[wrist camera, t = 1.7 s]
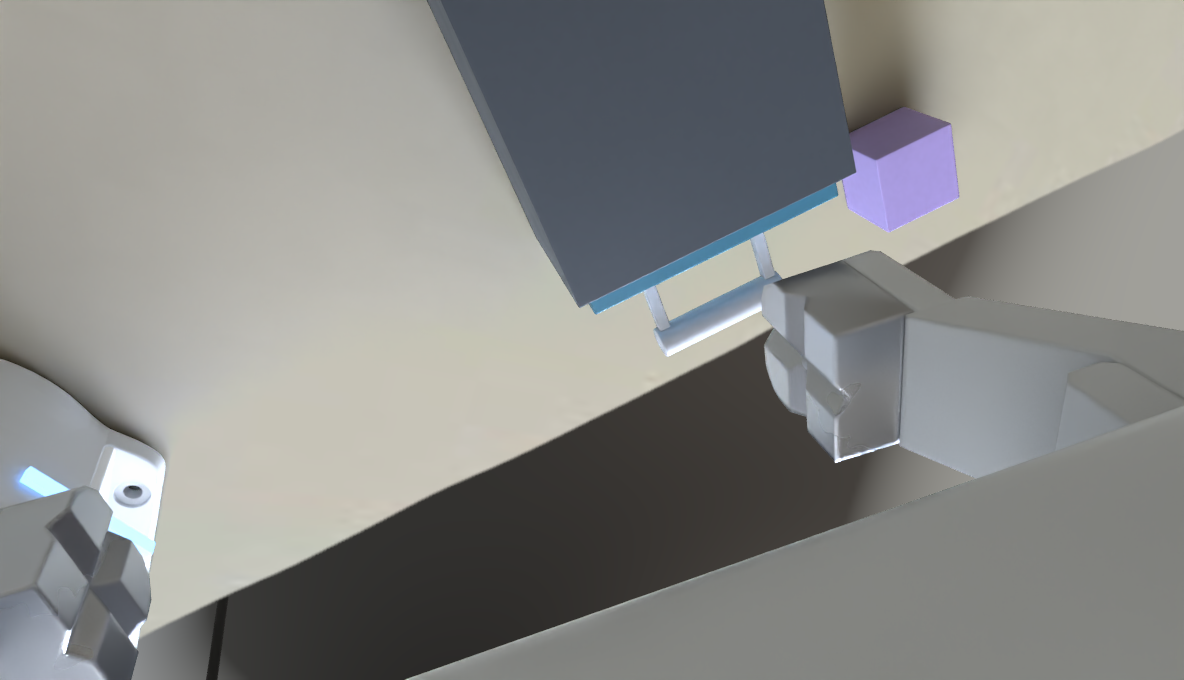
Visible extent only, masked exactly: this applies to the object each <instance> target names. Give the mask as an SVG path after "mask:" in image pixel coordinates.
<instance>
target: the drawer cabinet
mask: <svg viewBox="0 0 1184 680" xmlns="http://www.w3.org/2000/svg"><path fill="white" fill-rule="evenodd" d="M427 2H428V4H429V6H430V8H431V10H432V12H433V15H434V17H435V19H436V21H437V23H438V25H439V28H440V30H441V32H442V34H443V36H444V39H445V41H446V43H447V45H448V47H449V49H450V52H451V54H452V56H453V58H454V60H455V62H456V65H457V67H458V69H459V71H460V73H461V75H462V78H463V80H464V82H465V84H466V86H467V89H468V91H469V93H470V95H471V97H472V99H473V102H474V104H475V106H476V108H477V110H478V112H479V115H480V117H481V119H482V121H483V123H484V125H485V128H486V130H487V132H488V134H489V136H490V139H491V141H492V143H493V145H494V147H495V149H496V152H497V154H498V156H499V158H500V160H501V162H502V165H503V167H504V169H505V171H506V173H507V175H508V178H509V180H510V182H511V184H512V186H513V189H514V191H515V193H516V195H517V197H518V199H519V202H520V204H521V206H522V208H523V210H524V212H525V215H526V217H527V219H528V221H529V223H530V225H531V228H532V230H533V232H534V234H535V236H536V238H537V240H538V241H539V243H540V245H541V246H542V248H543V250H544V251H545V253H546V254H547V256H548V258H549V259H550V261H551V263H552V264H553V266H554V268H555V269H556V271H557V272H558V274H559V276H560V277H561V279H562V281H563V282H564V284H565V286H566V287H567V289H568V290H569V292H570V294H571V295H572V297H573V299H574V300H575V302H576V304H577V305H578V307H579V308H581V307H583V306H585V305H587V304H589V303H591V302H593V301H595V300H597V299H599V298H601V297H603V296H605V295H607V294H609V293H611V292H614V291H616V290H618V289H620V288H622V287H624V286H626V285H628V284H630V283H632V282H634V281H636V280H638V279H640V278H642V277H644V276H646V275H648V274H650V273H652V272H654V271H656V270H658V269H660V268H663V267H665V266H667V265H669V264H671V263H673V262H675V261H677V260H679V259H681V258H683V257H685V256H687V255H689V254H691V253H693V252H695V251H697V250H699V249H701V248H703V247H705V246H707V245H709V244H712V243H714V242H716V241H718V240H720V239H722V238H724V237H726V236H728V235H730V234H732V233H734V232H736V231H738V230H740V229H742V228H744V227H746V226H748V225H750V224H752V223H754V222H756V221H758V220H761V219H763V218H765V217H767V216H769V215H771V214H773V213H775V212H777V211H779V210H781V209H783V208H785V207H787V206H789V205H791V204H793V203H795V202H797V201H799V200H801V199H803V198H805V197H807V196H810V195H812V194H814V193H816V192H818V191H820V190H822V189H824V188H826V187H828V186H830V185H832V184H834V183H836V182H838V181H840V180H842V179H844V178H846V177H848V176H850V175H852V174H854V173H856V167H855V162H854V156H853V151H852V146H851V141H850V136H849V130H848V125H847V120H846V115H845V109H844V104H843V99H842V94H841V88H840V83H839V78H838V73H837V68H836V62H835V57H834V52H833V47H832V41H831V36H830V31H829V26H828V20H827V15H826V10H825V5H824V0H427Z"/></svg>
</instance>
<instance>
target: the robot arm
mask: <svg viewBox="0 0 1184 680" xmlns="http://www.w3.org/2000/svg"><path fill="white" fill-rule="evenodd" d="M761 300H762V316H763V317H764V318H765V319H766V320H767V321H768V322H769V323H770V324H771V325H772V326H773V327H774V328H773V330H772V332H771V334H770V336H769V337H768V339H767V341H766V343H765V345H764V348H765V358H766V367H767V371H768V374H769V377H770V380H771V383H772V386H773V388H774V390H775V391H776V393H777V395H778V397H779V399H780V400H781V401H782V403H783V404H784V405H785V406H786V407H787V408H788V410H789V411H791V412H794V413H797V414H800V415H804V416H806V417H807V430H808V432H809V433H810V435H811V436H812V437H813V438H814V439H815V440H816V441H817V442H818V443H819V445H820V446H821V447H822V448H823V449H824V450H825V451H826V452H827V453H828V454H829V456H830V457H831V458H832V459H833V460H834V461H835V462H839V461H842V460H845V459H849V458H852V457H855V456H858V455H862V454H865V453H868V452H871V451H874V450H878V449H881V448H884V447H887V446H891V445H894V444H897V443H900V446H901V447H903V448H905V449H908V450H910V451H912V452H915V453H917V454H920V455H922V456H924V457H927V458H929V459H931V460H934V461H936V462H938V463H941V464H943V465H946V466H948V467H951V468H953V469H955V470H957V471H960V472H962V473H964V474H967V475H969V476H972V477H974V478H976V479H974V480H971V481H968V482H965V483H962V484H959V485H957V486H954V487H951V488H948V489H945V490H942V491H940V492H937V493H934V494H931V495H928V496H926V497H923V498H920V499H917V500H914V501H911V502H908V503H906V504H903V505H900V506H897V507H894V508H891V509H889V510H886V511H883V512H880V513H877V514H874V515H872V516H869V517H866V518H863V519H861V520H857V521H854V522H852V523H849V524H846V525H843V526H841V527H837V528H835V529H832V530H829V531H826V532H823V533H820V534H818V535H815V536H812V537H809V538H806V539H803V540H800V541H798V542H795V543H792V544H789V545H787V546H784V547H781V548H778V549H775V550H772V551H769V552H766V553H764V554H761V555H758V556H755V557H752V558H749V559H747V560H744V561H741V562H738V563H735V564H733V565H730V566H727V567H724V568H721V569H718V570H715V571H713V572H710V573H707V574H704V575H701V576H698V577H696V578H693V579H690V580H687V581H684V582H681V583H678V584H676V585H673V586H670V587H667V588H664V589H661V590H658V591H656V592H653V593H650V594H647V595H644V596H642V597H639V598H636V599H633V600H630V601H627V602H624V603H622V604H619V605H616V606H613V607H610V608H607V609H605V610H602V611H599V612H596V613H593V614H590V615H588V616H585V617H582V618H579V619H577V620H574V621H570V622H568V623H565V624H562V625H559V626H556V627H553V628H551V629H548V630H545V631H542V632H539V633H537V634H534V635H531V636H528V637H525V638H522V639H519V640H517V641H514V642H511V643H508V644H505V645H503V646H500V647H497V648H494V649H491V650H488V651H485V652H482V653H480V654H477V655H474V656H471V657H469V658H466V659H463V660H460V661H457V662H454V663H451V664H449V665H446V666H443V667H440V668H437V669H434V670H431V671H428V672H426V673H423V674H420V675H417V676H414V677H411V678H408V679H406V680H1184V331H1180V330H1174V329H1168V328H1162V327H1155V326H1149V325H1143V324H1137V323H1130V322H1124V321H1118V320H1112V319H1106V318H1099V317H1093V316H1087V315H1081V314H1074V313H1068V312H1062V311H1056V310H1050V309H1044V308H1038V307H1032V306H1025V305H1019V304H1013V303H1007V302H1000V301H994V300H988V299H982V298H976V297H970V296H966V297H963V298H959V299H954V298H953V297H951V296H950V295H948V294H946V293H945V292H943V291H942V290H940V289H939V288H937V287H935V286H934V285H932V284H931V283H929V282H928V281H926V280H924V279H923V278H921V277H920V276H918V275H917V274H915V273H914V272H912V271H911V270H909V269H907V268H906V267H904V266H903V265H901V264H900V263H898V262H896V261H895V260H893V259H892V258H890V257H889V256H887V255H886V254H884V253H882V252H881V251H872V250H870V251H867V252H864V253H861V254H858V255H855V256H852V257H849V258H847V259H844V260H841V261H838V262H835V263H832V264H829V265H825V266H822V267H819V268H816V269H813V270H810V271H807V272H804V273H801V274H798V275H795V276H792V277H788V278H785V279H782V280H779V281H776V282H773V283H770V284H768V285H765V286H764V288H763V293H762V298H761ZM164 474H165V461H164V459H163V457H162V456H161V454H160V453H158V452H157V451H156V450H155V449H153V448H151V447H150V446H148V445H146V444H144V443H142V442H140V441H138V440H135V439H133V438H131V437H128V436H126V435H124V434H121V433H119V432H116V431H114V430H111V429H109V428H108V427H106V426H105V425H103V424H102V423H101V422H100V421H98V420H97V419H96V418H95V417H94V416H92V415H91V414H90V413H89V412H88V411H87V410H86V409H85V408H84V407H83V406H82V405H81V404H80V403H78V402H77V401H76V400H75V399H74V398H73V397H71V396H70V395H69V394H68V393H66V392H65V391H64V390H62V389H61V388H59V387H58V386H56V385H55V384H53V383H52V382H50V381H49V380H47V379H45V378H43V377H42V376H40V375H38V374H36V373H34V372H32V371H30V370H28V369H26V368H23V367H21V366H19V365H16V364H14V363H11V362H9V361H6V360H3V359H0V680H131V678H132V674H133V670H134V666H135V663H136V659H137V655H138V650H137V649H136V648H137V643H138V638H139V632H140V627H141V626H142V624H143V623H144V622H145V621H146V620H147V616H148V612H149V607H150V603H151V590H150V578H149V569H150V563H151V556H152V554H153V551H154V547H155V543H156V542H154V537H155V531H156V525H157V519H158V512H159V506H160V500H161V493H162V487H163V481H164ZM130 485H135V486H138V487H140V488H141V489H140V490H133V489H130V488H129V487H128V486H130ZM228 597H229V594H228V595H226V596H224V597H222V598H220V599H218V602H217V608H216V615H215V622H214V629H213V636H212V642H211V649H210V657H209V664H208V669H207V676H206V680H218V672H219V664H220V656H221V650H222V641H223V634H224V626H225V618H226V611H227V605H228Z"/></svg>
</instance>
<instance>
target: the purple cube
mask: <svg viewBox="0 0 1184 680" xmlns="http://www.w3.org/2000/svg"><path fill="white" fill-rule="evenodd" d="M849 136H850V141H851V146H852V151H853V156H854V162H855V167H856V173H854V174H852V175H850V176H848V177H846V178H844V179H842V181H843V185H844V190H845V195H846V200H847V205H848V209H850V210H852V211H853V212H855V213H857V214H858V215H860V216H862V217H863V218H865V219H867V220H868V221H870V222H872V223H873V224H875V225H877V226H878V227H880V228H882V229H884V230H885V231H887V232H891V231H893V230H895V229H897V228H899V227H901V226H903V225H905V224H907V223H909V222H911V221H913V220H915V219H917V218H919V217H921V216H923V215H925V214H927V213H929V212H931V211H933V210H935V209H937V208H939V207H941V206H943V205H945V204H947V203H949V202H951V201H953V200H955V199H957V198H959V190H958V181H957V172H956V163H955V155H954V146H953V137H952V129H951V124H950V123H948V122H945V121H942V120H940V119H937V118H934V117H931V116H929V115H926V114H923V113H920V112H918V111H915V110H912V109H909V108H907V107H902V108H900V109H898V110H896V111H894V112H892V113H890V114H888V115H886V116H883V117H881V118H879V119H877V120H875V121H873V122H871V123H869V124H867V125H865V126H863V127H861V128H859V129H857V130H855V131H853V132H851V133H849Z"/></svg>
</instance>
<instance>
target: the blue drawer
mask: <svg viewBox="0 0 1184 680" xmlns="http://www.w3.org/2000/svg"><path fill="white" fill-rule="evenodd" d="M837 196H838V191H837V186H836V183H834V184H832V185H830V186H828V187H826V188H824V189H822V190H820V191H818V192H816V193H814V194H812V195H810V196H807V197H805V198H803V199H801V200H799V201H797V202H795V203H793V204H791V205H789V206H787V207H785V208H783V209H781V210H779V211H777V212H775V213H773V214H771V215H769V216H767V217H765V218H763V219H761V220H758V221H756V222H754V223H752V224H750V225H748V226H746V227H744V228H742V229H740V230H738V231H736V232H734V233H732V234H730V235H728V236H726V237H724V238H722V239H720V240H718V241H716V242H714V243H712V244H709V245H707V246H705V247H703V248H701V249H699V250H697V251H695V252H693V253H691V254H689V255H687V256H685V257H683V258H681V259H679V260H677V261H675V262H673V263H671V264H669V265H667V266H665V267H663V268H660V269H658V270H656V271H654V272H652V273H650V274H648V275H646V276H644V277H642V278H640V279H638V280H636V281H634V282H632V283H630V284H628V285H626V286H624V287H622V288H620V289H618V290H616V291H614V292H611V293H609V294H607V295H605V296H603V297H601V298H599V299H597V300H595V301H593V302H591V303H589V305H590V307H591V308H592V310H593V312H594V313H595V314H598V313H600V312H602V311H604V310H606V309H608V308H610V307H612V306H615V305H617V304H619V303H621V302H623V301H625V300H627V299H629V298H631V297H633V296H635V295H637V294H639V293H641V292H644V295H645V298H646V300H647V303H648V305H649V308H650V310H651V313H652V315H653V318H654V321H655V323H656V326H657V327H656V328H655V329H654V335H655V338H656V340H657V342H658V344H659V346H660V348H661V350H662V351H663V353H664V354H665V355H666V356H670V355H672V354H674V353H676V352H678V351H680V350H682V349H684V348H686V347H688V346H690V345H692V344H694V343H696V342H698V341H700V340H702V339H704V338H706V337H708V336H710V335H712V334H714V333H716V332H718V331H720V330H722V329H724V328H726V327H728V326H730V325H732V324H734V323H736V322H738V321H740V320H742V319H744V318H746V317H748V316H750V315H753V314H755V313H757V312H759V311H761V310H762V300H761V298H762V293H763V288H764V286H765V285H768V284H770V283H773V282H776V281H779V280H782V278H781V277H780V275H779V274H778V273H777V272H776V271H774V268H773V265H772V261H771V258H770V254H769V250H768V247H767V243H766V239H765V236H764V232H765V231H767V230H769V229H771V228H773V227H775V226H778V225H780V224H782V223H784V222H786V221H788V220H790V219H792V218H794V217H796V216H798V215H800V214H802V213H804V212H806V211H808V210H810V209H812V208H814V207H816V206H818V205H820V204H822V203H824V202H826V201H828V200H831V199H833V198H835V197H837ZM749 239H750V240H751V244H752V247H753V251H754V254H755V258H756V261H757V265H758V268H759V272H760V275H761V276H760V277H758V278H756V279H754V280H752V281H750V282H748V283H746V284H744V285H742V286H739V287H737V288H735V289H733V290H731V291H729V292H727V293H725V294H723V295H721V296H719V297H717V298H715V299H713V300H711V301H709V302H707V303H705V304H703V305H701V306H699V307H697V308H695V309H693V310H691V311H689V312H687V313H685V314H683V315H681V316H679V317H677V318H675V319H673V320H671V321H669V320H668V318H667V315H666V312H665V310H664V307H663V304H662V302H661V299H660V296H659V294H658V291H657V288H656V286H655V285H657V284H659V283H661V282H663V281H665V280H668V279H670V278H672V277H674V276H676V275H678V274H680V273H682V272H684V271H686V270H688V269H690V268H692V267H694V266H696V265H698V264H700V263H702V262H704V261H706V260H708V259H710V258H712V257H714V256H716V255H718V254H720V253H723V252H725V251H727V250H729V249H731V248H733V247H735V246H737V245H739V244H741V243H743V242H745V241H747V240H749Z"/></svg>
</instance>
